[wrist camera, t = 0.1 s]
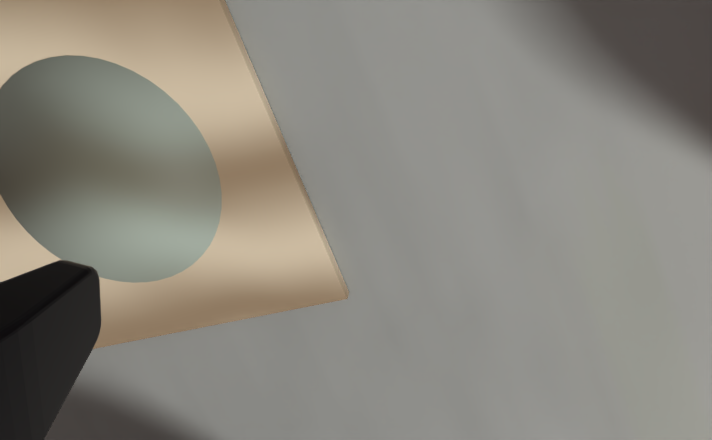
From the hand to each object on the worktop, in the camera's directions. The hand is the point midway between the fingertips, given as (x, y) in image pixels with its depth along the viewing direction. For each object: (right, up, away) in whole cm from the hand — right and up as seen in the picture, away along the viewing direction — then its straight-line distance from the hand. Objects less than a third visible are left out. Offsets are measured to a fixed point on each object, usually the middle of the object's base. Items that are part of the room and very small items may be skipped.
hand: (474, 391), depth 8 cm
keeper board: (-10, +4, +17) cm, 20 cm away
